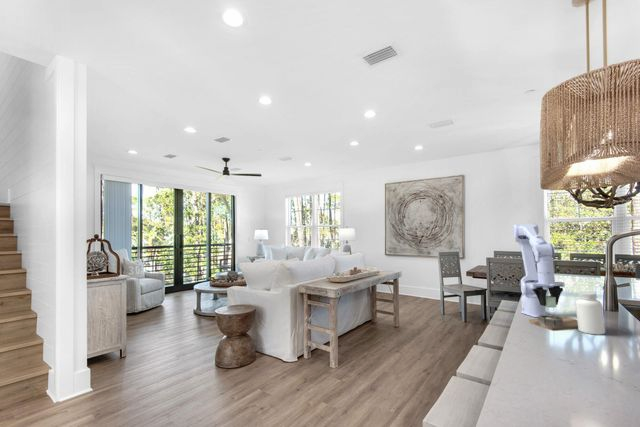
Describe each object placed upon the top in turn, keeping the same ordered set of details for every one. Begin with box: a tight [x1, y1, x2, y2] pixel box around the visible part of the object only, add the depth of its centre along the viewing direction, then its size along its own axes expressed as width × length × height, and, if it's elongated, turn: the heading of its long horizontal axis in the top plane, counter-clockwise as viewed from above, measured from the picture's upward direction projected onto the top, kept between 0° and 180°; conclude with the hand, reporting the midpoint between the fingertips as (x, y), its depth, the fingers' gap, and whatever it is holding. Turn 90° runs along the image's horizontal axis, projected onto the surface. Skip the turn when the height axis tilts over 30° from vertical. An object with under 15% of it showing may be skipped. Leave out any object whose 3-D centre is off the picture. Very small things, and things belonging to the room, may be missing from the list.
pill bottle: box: [575, 291, 606, 335], centre depth 122 cm, size 8×8×15 cm
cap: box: [543, 294, 557, 308], centre depth 131 cm, size 5×5×4 cm
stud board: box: [528, 314, 578, 331], centre depth 132 cm, size 12×18×4 cm, turn 96°
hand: (548, 305), depth 131 cm, fingers closed on cap, 5 cm apart
